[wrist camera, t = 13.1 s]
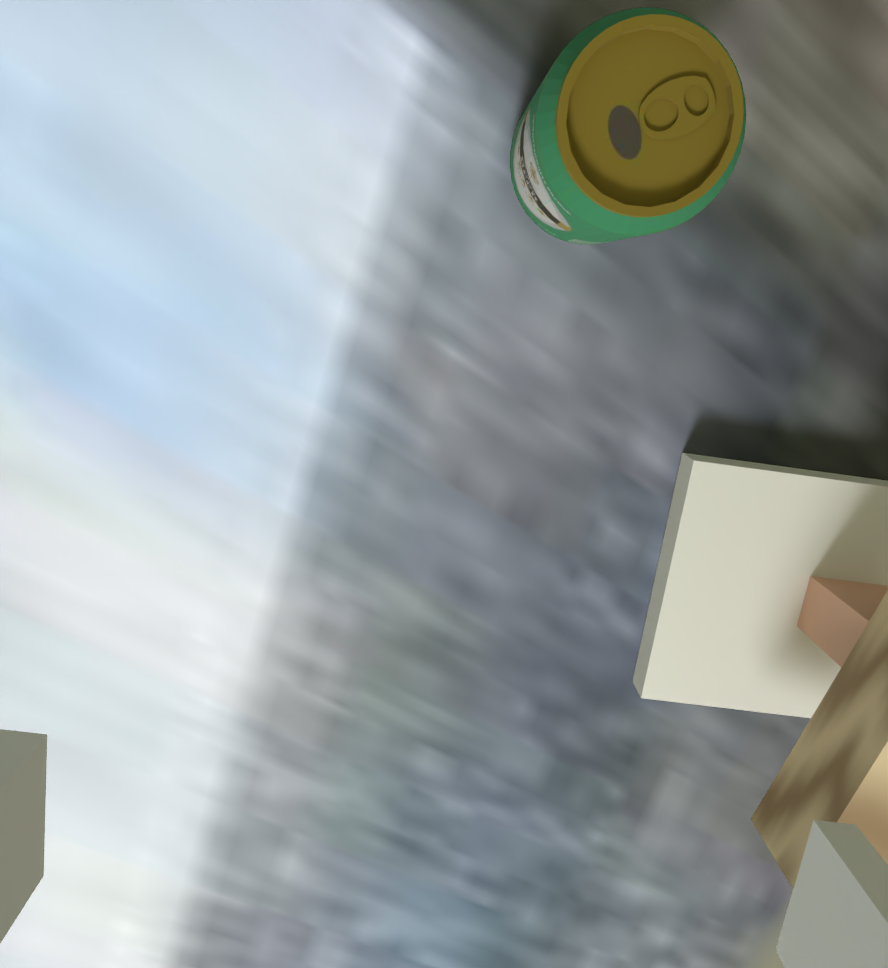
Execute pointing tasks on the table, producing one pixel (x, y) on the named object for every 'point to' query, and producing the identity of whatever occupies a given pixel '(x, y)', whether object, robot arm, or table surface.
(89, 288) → the table surface
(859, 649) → the oak bar
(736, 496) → the fulcrum
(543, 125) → the beverage can
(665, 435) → the table surface
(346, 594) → the table surface
